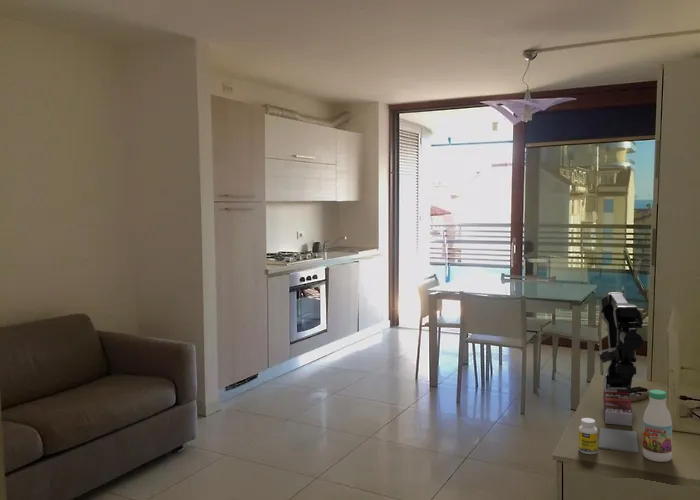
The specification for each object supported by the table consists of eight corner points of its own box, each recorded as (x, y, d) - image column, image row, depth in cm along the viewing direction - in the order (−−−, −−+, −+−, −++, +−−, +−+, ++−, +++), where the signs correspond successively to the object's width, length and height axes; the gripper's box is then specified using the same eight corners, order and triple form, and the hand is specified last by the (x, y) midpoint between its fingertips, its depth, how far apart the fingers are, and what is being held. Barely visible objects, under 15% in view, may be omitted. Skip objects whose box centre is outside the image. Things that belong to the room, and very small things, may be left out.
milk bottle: (641, 450, 183) (642, 386, 181) (670, 453, 180) (671, 388, 178) (643, 460, 176) (643, 394, 174) (673, 464, 173) (673, 397, 171)
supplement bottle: (580, 454, 182) (579, 422, 181) (577, 446, 187) (577, 416, 186) (599, 455, 180) (599, 423, 180) (595, 447, 186) (595, 417, 185)
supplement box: (605, 411, 203) (602, 388, 217) (605, 423, 204) (602, 399, 218) (633, 413, 200) (629, 389, 214) (633, 426, 201) (628, 401, 215)
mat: (600, 429, 200) (600, 427, 200) (636, 433, 195) (636, 431, 195) (598, 448, 185) (598, 446, 185) (638, 453, 181) (638, 451, 181)
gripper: (601, 334, 214) (601, 376, 216) (599, 347, 197) (599, 393, 199) (636, 336, 209) (636, 379, 211) (636, 349, 193) (636, 396, 194)
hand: (626, 386), depth 204 cm, fingers closed
